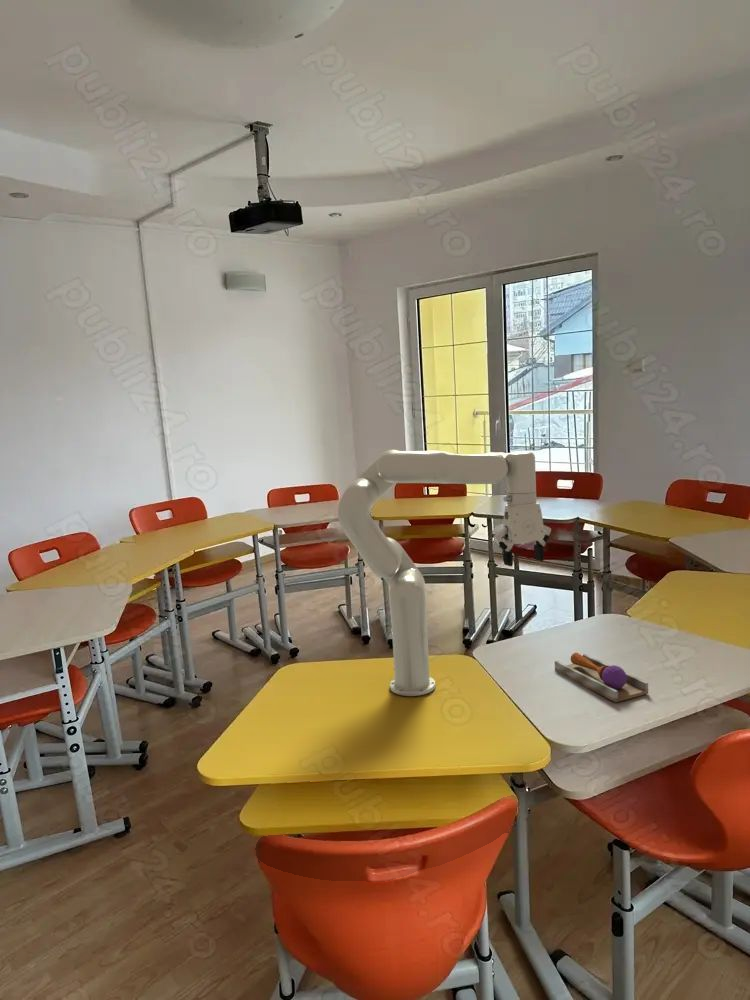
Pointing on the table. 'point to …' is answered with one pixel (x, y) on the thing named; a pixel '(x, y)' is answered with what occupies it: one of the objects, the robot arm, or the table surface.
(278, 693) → the table surface
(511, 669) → the table surface
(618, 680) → the kendama
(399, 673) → the robot arm
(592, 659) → the rail cradle
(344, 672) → the table surface
